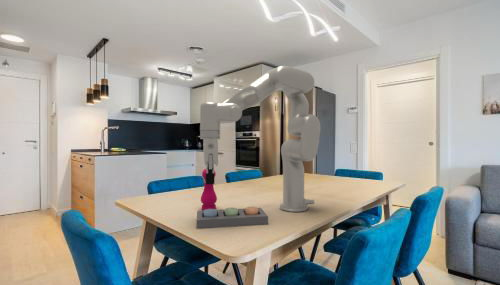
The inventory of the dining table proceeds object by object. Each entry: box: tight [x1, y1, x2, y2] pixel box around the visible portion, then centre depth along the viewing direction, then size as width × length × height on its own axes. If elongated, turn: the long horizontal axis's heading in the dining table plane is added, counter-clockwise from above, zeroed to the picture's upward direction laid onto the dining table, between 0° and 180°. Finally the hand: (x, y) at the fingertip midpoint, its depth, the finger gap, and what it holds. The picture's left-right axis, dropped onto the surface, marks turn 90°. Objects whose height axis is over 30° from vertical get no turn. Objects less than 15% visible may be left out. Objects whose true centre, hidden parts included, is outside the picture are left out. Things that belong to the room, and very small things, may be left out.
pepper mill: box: [200, 168, 218, 211], centre depth 116 cm, size 7×7×20 cm
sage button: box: [224, 207, 239, 216], centre depth 99 cm, size 5×5×3 cm
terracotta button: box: [244, 206, 259, 215], centre depth 100 cm, size 5×5×3 cm
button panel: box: [196, 207, 269, 230], centre depth 99 cm, size 26×12×3 cm, turn 101°
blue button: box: [203, 208, 218, 217], centre depth 97 cm, size 5×5×3 cm
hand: (210, 183), depth 97 cm, fingers closed
